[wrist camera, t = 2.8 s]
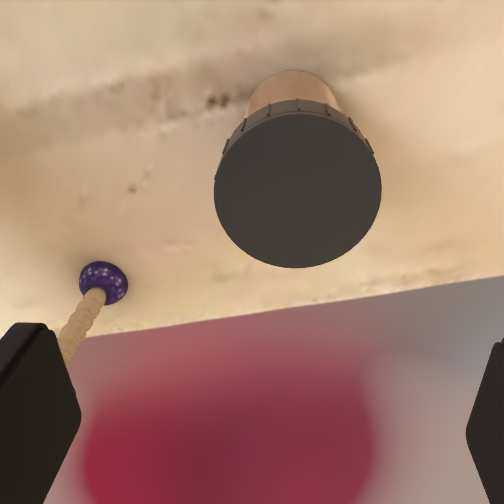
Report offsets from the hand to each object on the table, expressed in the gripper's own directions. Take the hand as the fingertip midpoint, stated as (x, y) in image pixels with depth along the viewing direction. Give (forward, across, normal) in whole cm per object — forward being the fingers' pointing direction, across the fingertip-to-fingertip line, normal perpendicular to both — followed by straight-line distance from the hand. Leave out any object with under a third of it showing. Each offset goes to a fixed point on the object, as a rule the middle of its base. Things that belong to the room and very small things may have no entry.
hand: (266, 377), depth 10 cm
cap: (+12, -1, +1) cm, 12 cm away
